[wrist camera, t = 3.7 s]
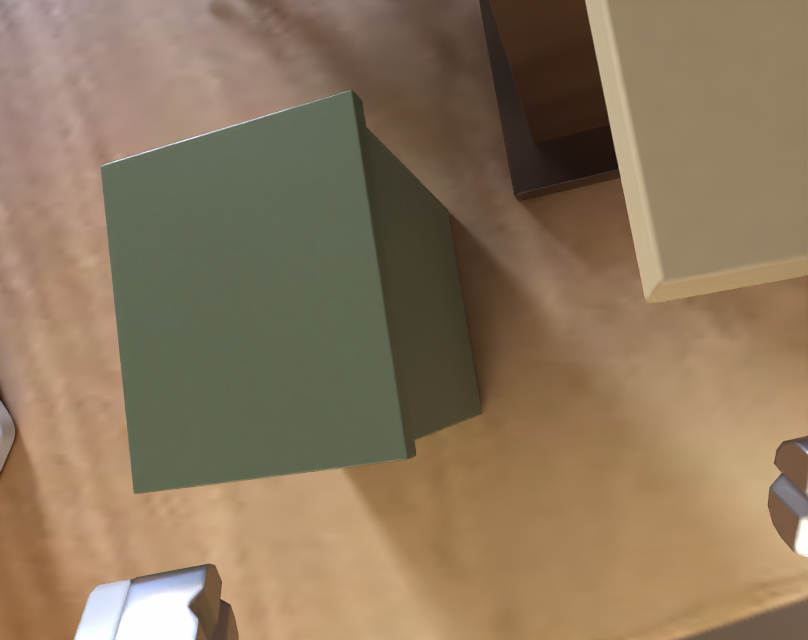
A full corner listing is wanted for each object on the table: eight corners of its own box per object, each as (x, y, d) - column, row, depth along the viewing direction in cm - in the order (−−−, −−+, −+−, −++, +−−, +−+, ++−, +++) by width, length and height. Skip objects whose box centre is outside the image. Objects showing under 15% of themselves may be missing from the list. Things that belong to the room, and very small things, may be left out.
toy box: (490, 420, 36) (408, 459, 21) (316, 444, 39) (132, 494, 24) (453, 201, 38) (352, 88, 22) (288, 240, 41) (99, 164, 25)
